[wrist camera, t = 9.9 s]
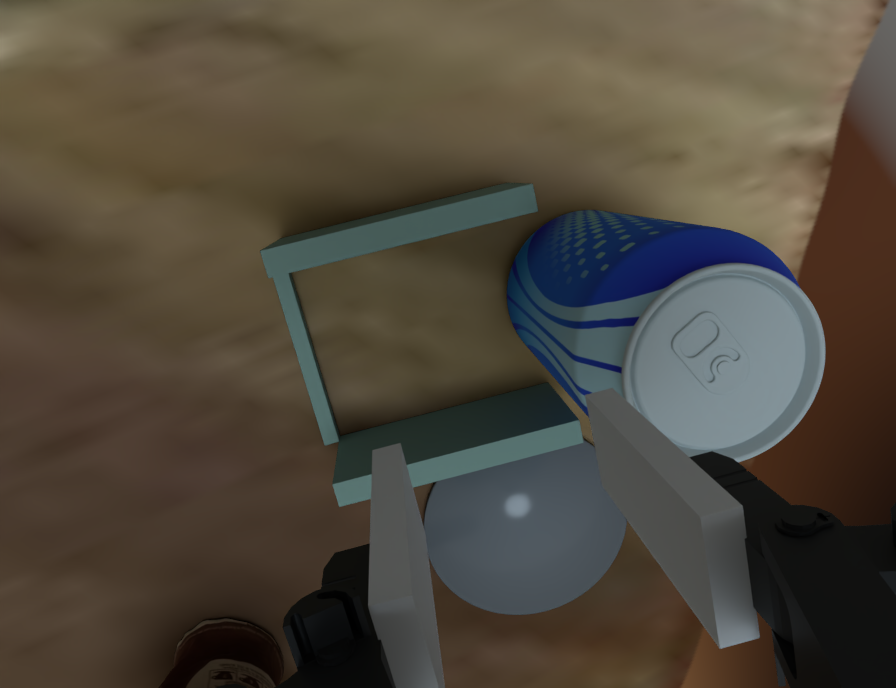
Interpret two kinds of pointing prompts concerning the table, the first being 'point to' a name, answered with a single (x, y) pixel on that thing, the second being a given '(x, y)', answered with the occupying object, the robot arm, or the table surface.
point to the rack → (441, 432)
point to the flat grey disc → (524, 531)
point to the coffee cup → (226, 657)
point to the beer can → (671, 326)
